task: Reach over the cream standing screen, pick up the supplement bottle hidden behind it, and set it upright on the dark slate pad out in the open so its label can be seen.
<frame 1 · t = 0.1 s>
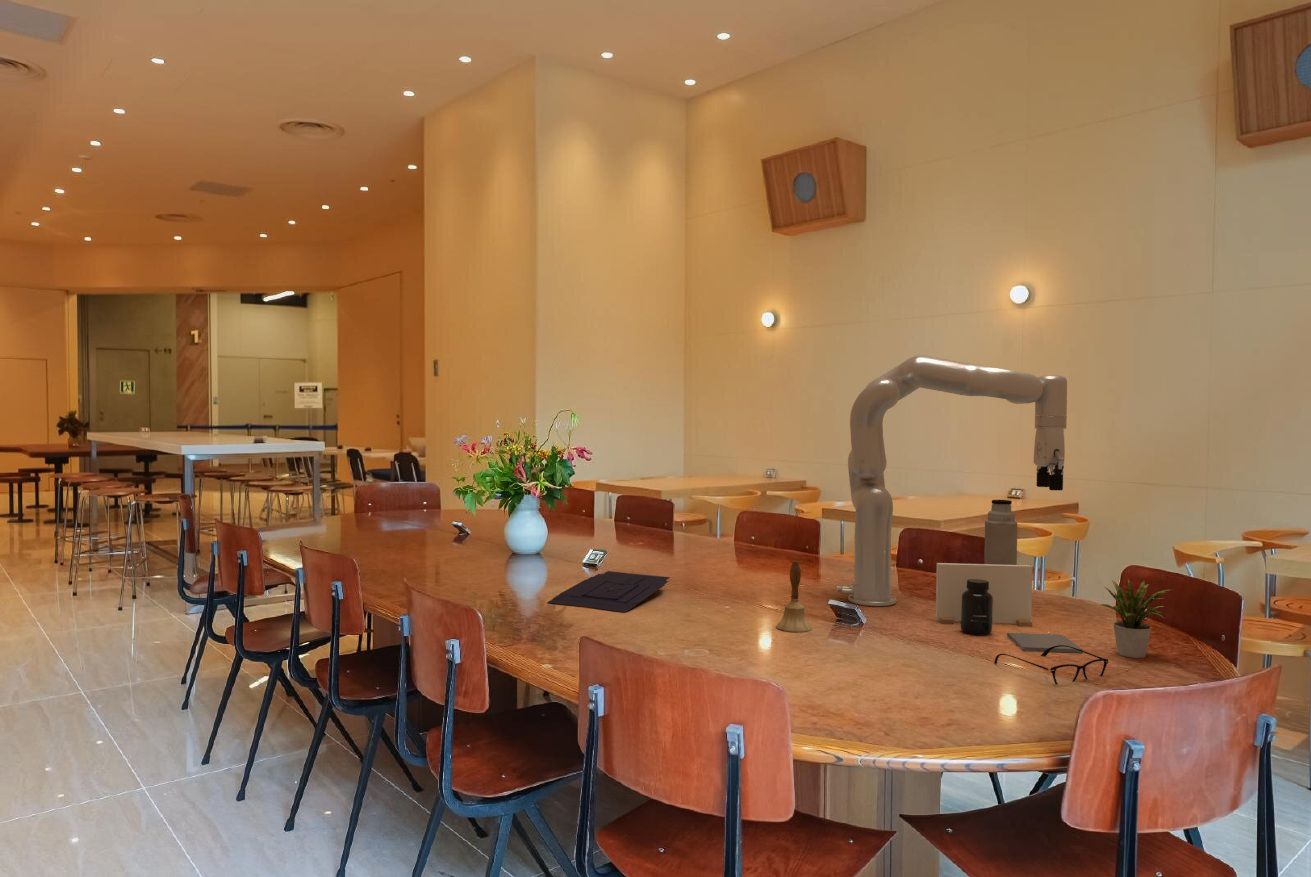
hand: (1049, 488, 222), 31 cm above the table, fingers open, 9 cm apart
hand bell: (794, 628, 201), on the table
house plant: (1134, 657, 178), on the table
black flat stepped slab: (613, 598, 233), on the table
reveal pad: (1043, 644, 187), on the table
thermos bottle: (999, 606, 225), on the table
supplement bottle: (976, 632, 197), on the table
screen: (983, 621, 207), on the table
eyeglasses: (1048, 672, 169), on the table
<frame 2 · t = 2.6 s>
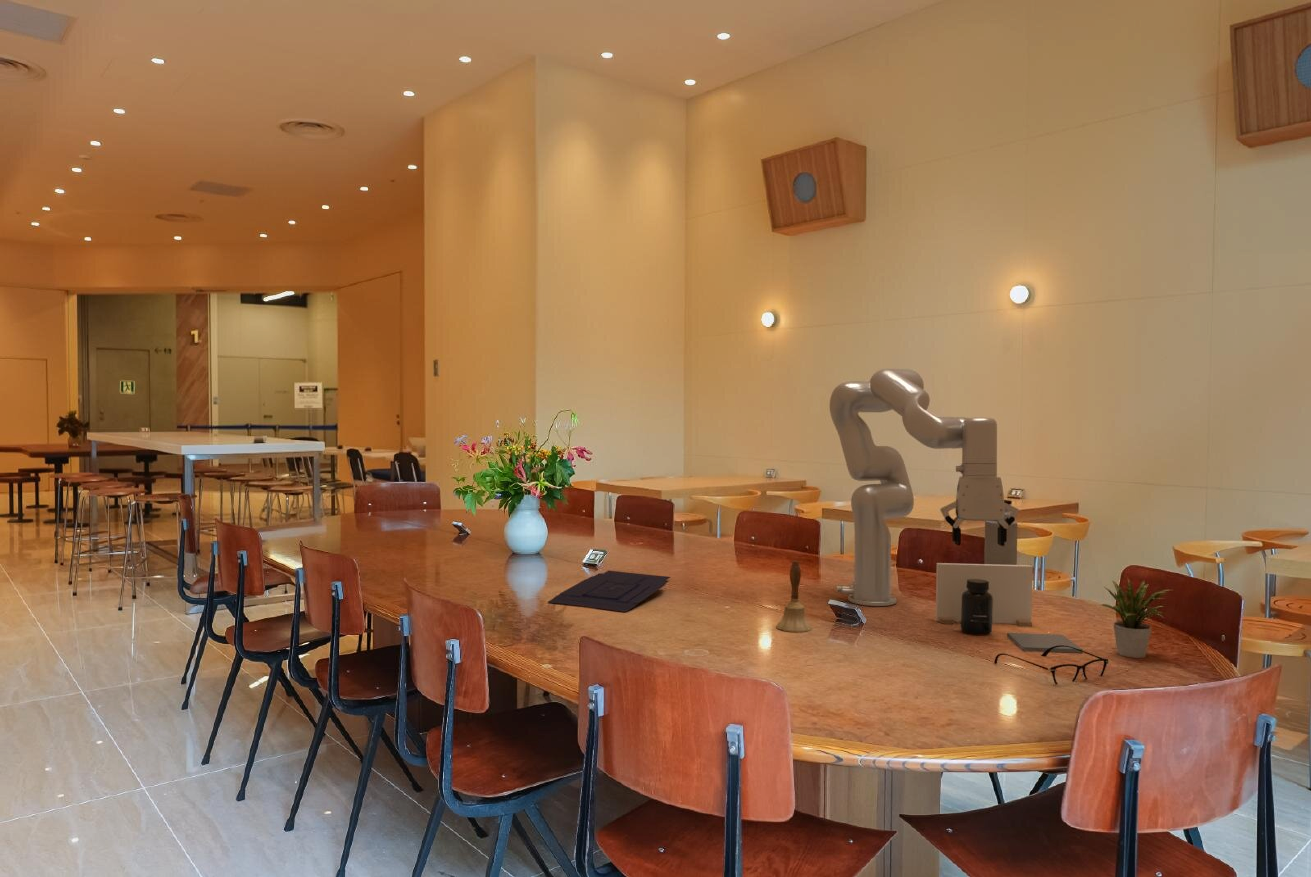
hand: (979, 544, 196), 20 cm above the table, fingers open, 9 cm apart
nothing on the table moved.
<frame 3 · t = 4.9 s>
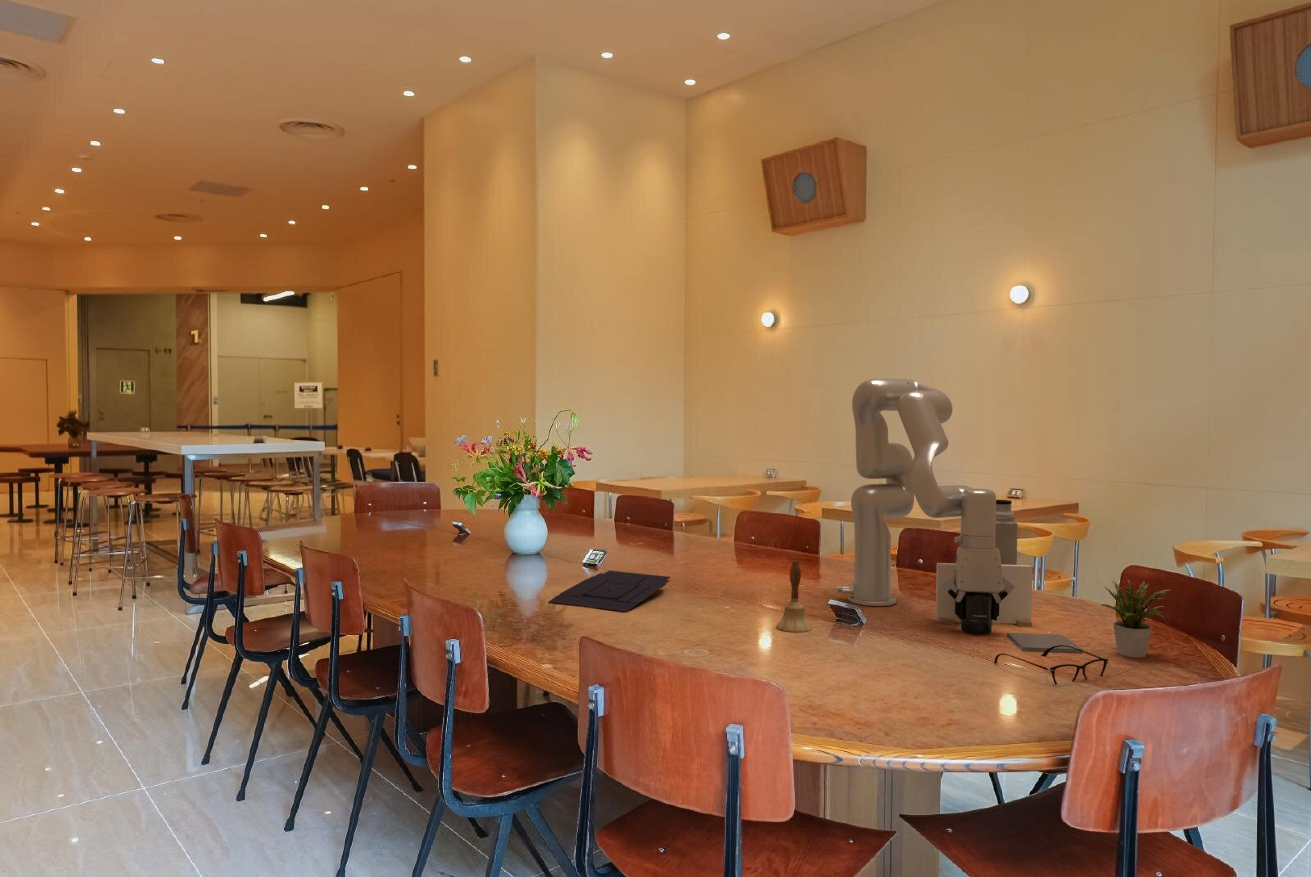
hand: (976, 617, 197), 3 cm above the table, fingers closed on supplement bottle, 6 cm apart
supplement bottle: (976, 632, 197), on the table, touching gripper
everything else where it was.
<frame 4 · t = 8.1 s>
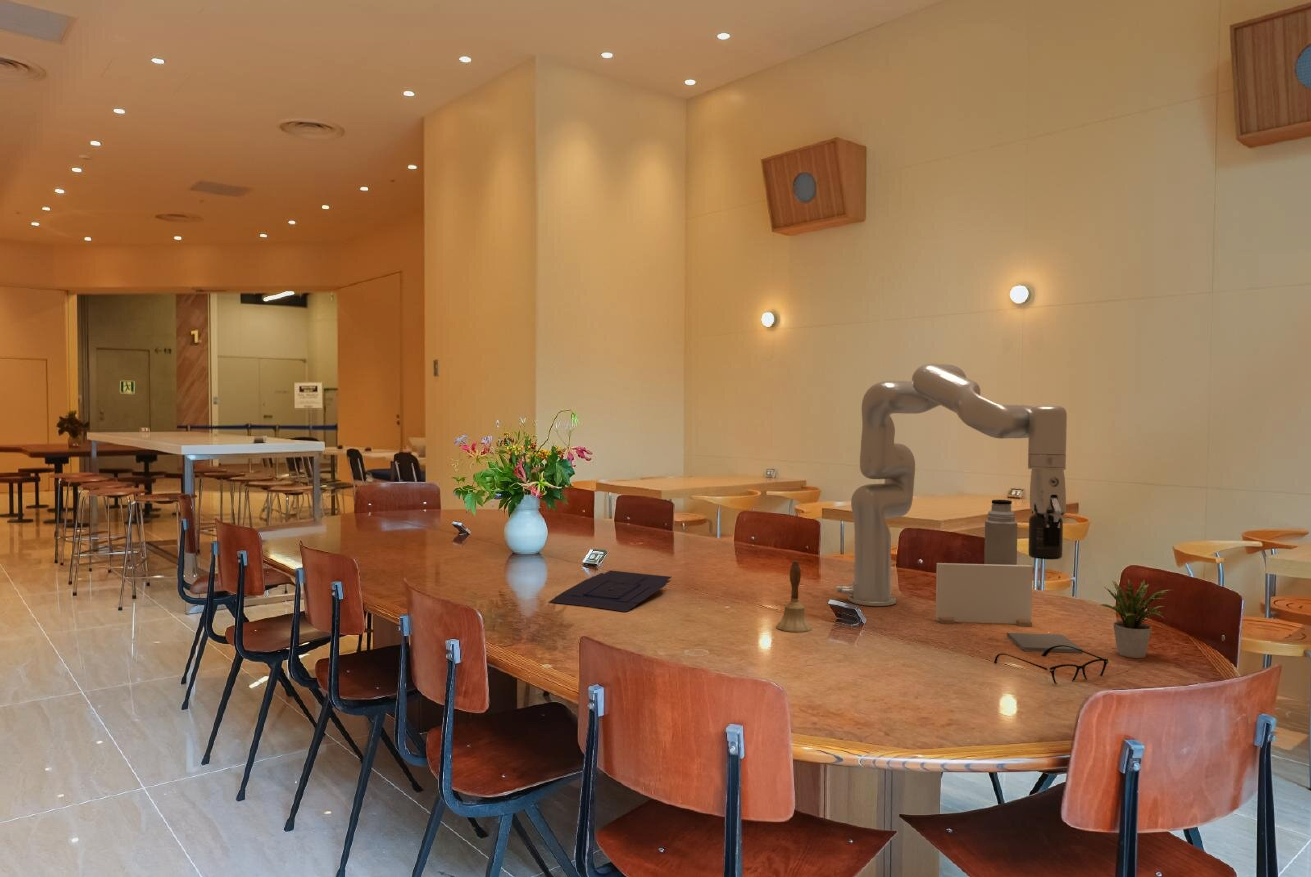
hand: (1045, 542, 186), 22 cm above the table, fingers closed on supplement bottle, 6 cm apart
supplement bottle: (1045, 558, 186), point 19 cm above the table, touching gripper
everything else where it was.
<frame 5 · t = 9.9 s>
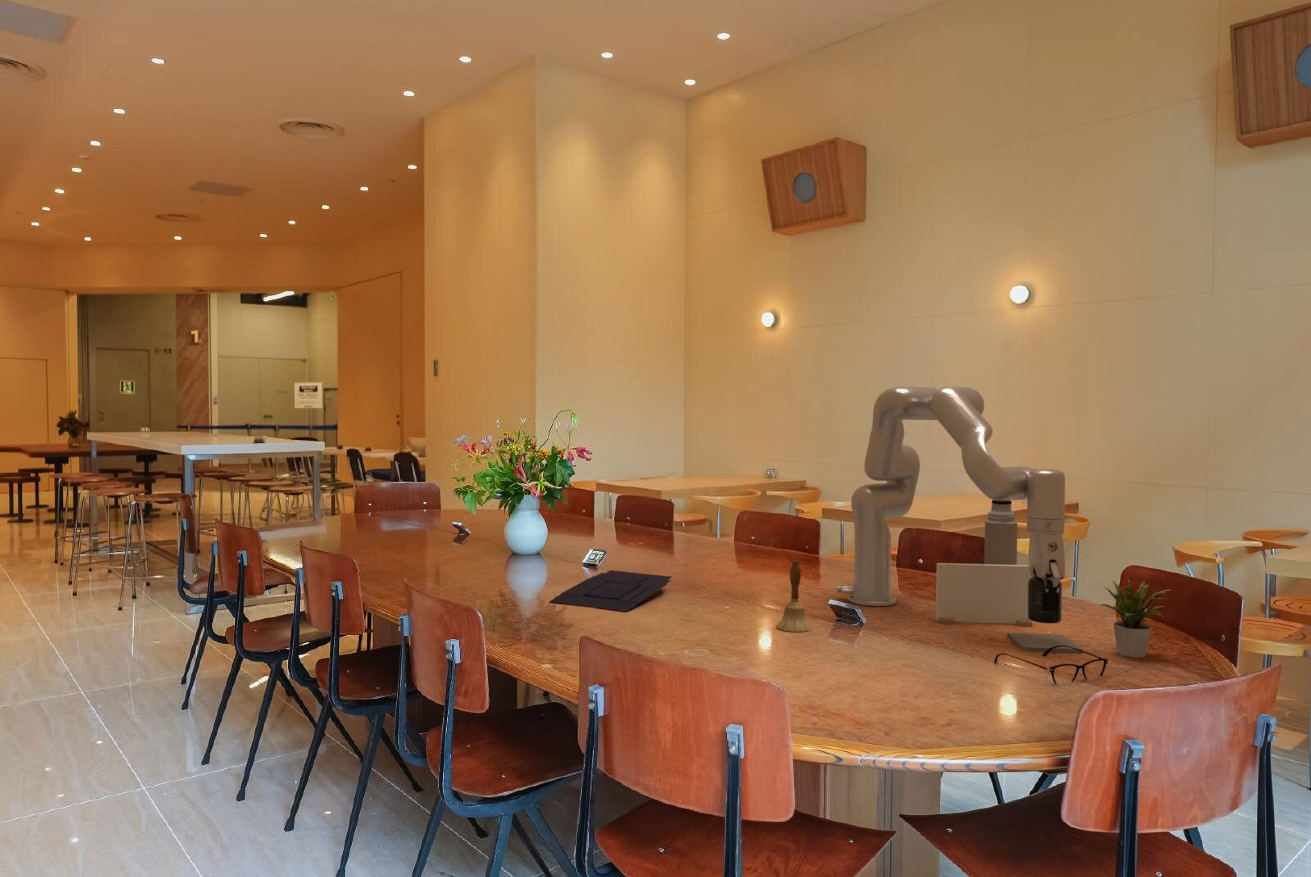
hand: (1044, 605, 187), 9 cm above the table, fingers closed on supplement bottle, 6 cm apart
supplement bottle: (1044, 621, 187), point 5 cm above the table, touching gripper
everything else where it was.
when the fingers open (5 cm above the table, at t = 11.5 s): supplement bottle stays where it is, resting on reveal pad.
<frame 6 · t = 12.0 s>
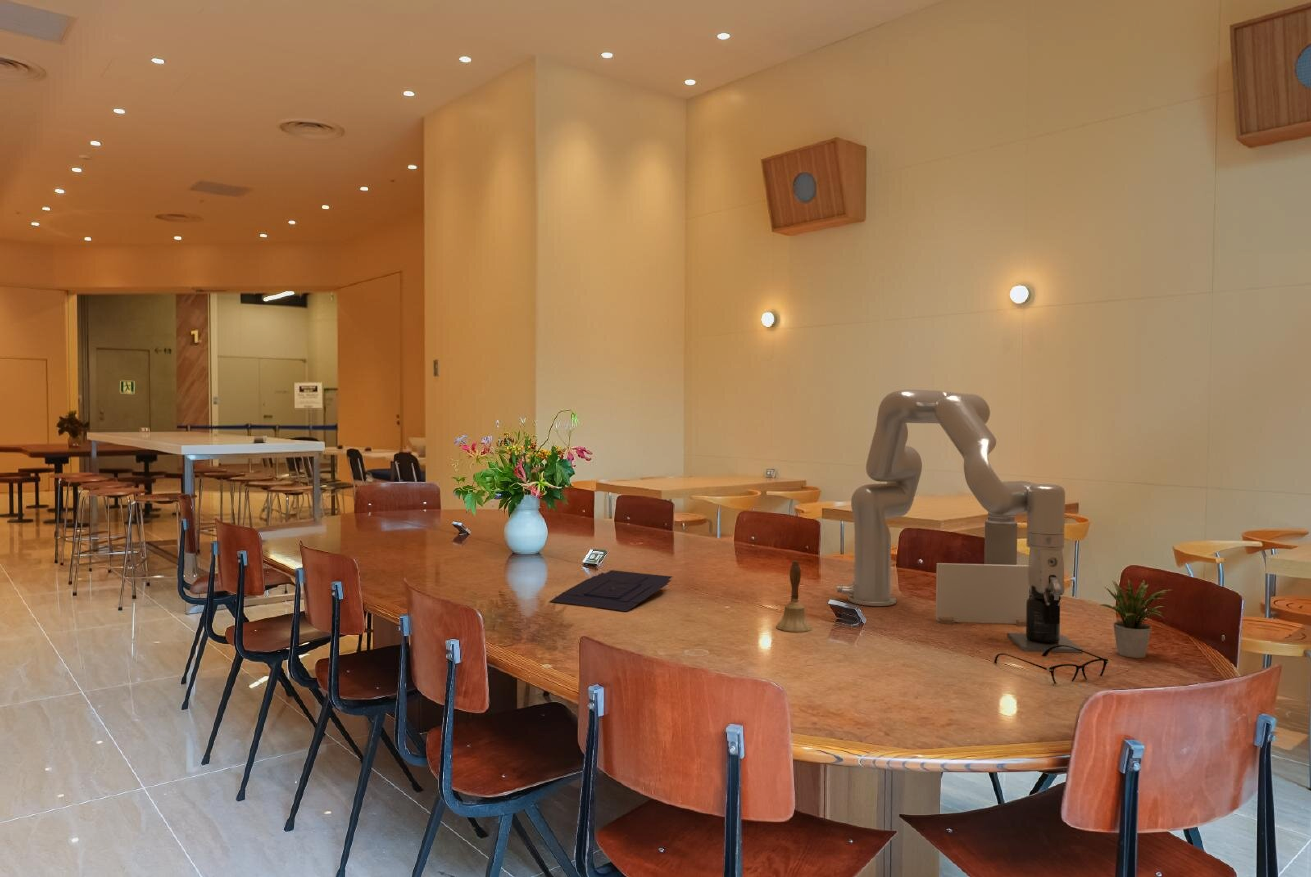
hand: (1043, 618, 187), 6 cm above the table, fingers open, 9 cm apart
supplement bottle: (1042, 641, 187), point 1 cm above the table, touching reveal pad
everything else where it was.
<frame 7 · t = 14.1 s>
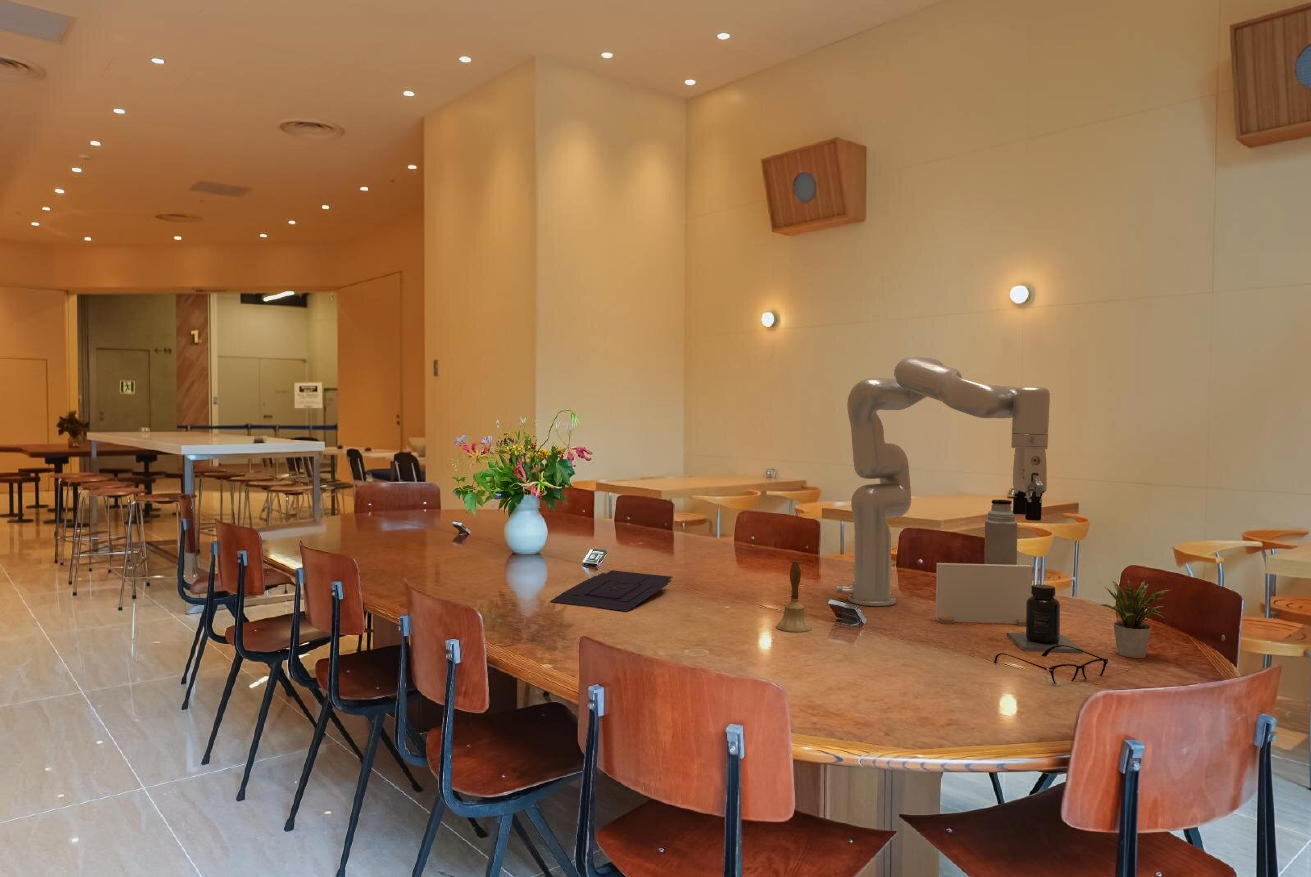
hand: (1026, 517, 192), 27 cm above the table, fingers open, 9 cm apart
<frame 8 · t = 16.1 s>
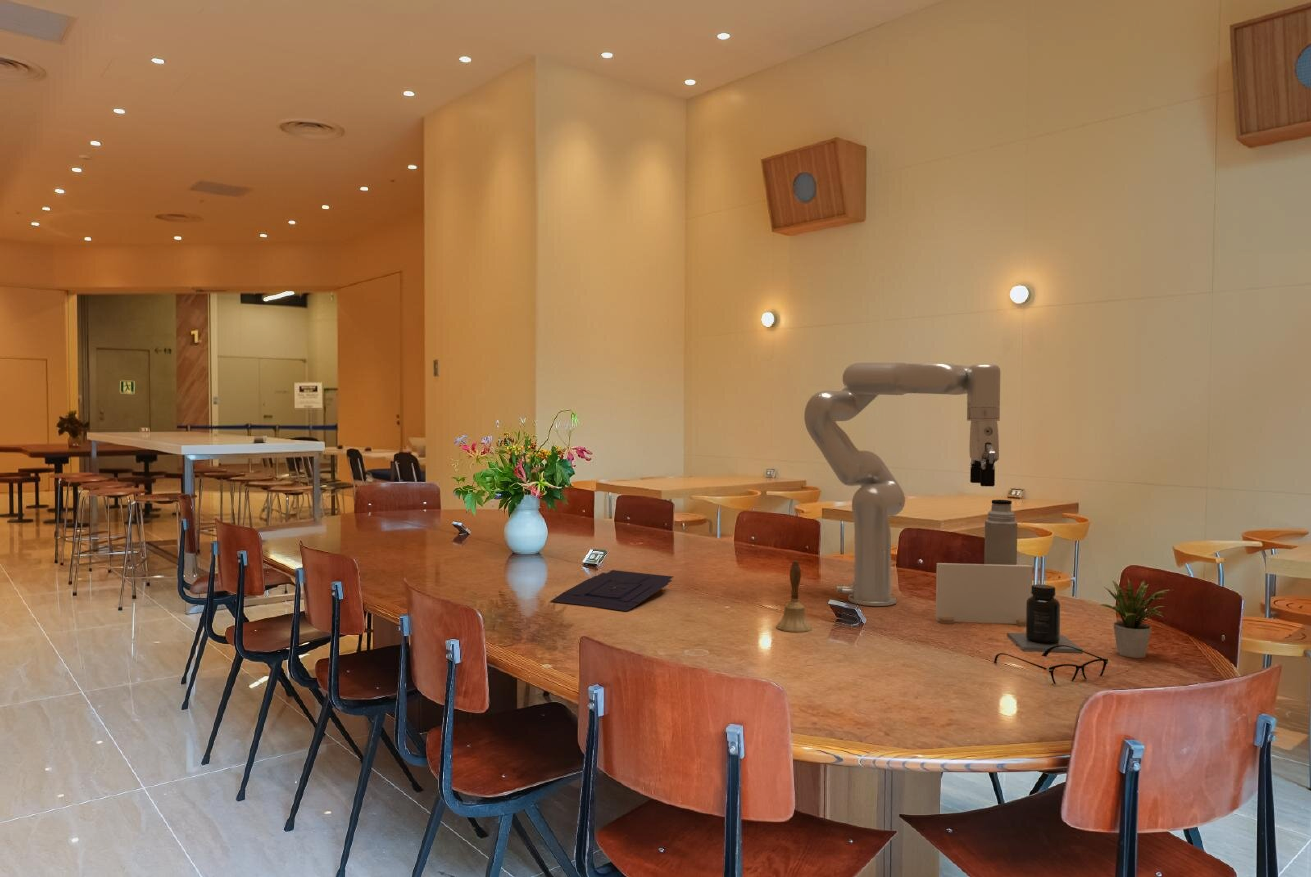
hand: (982, 484, 209), 33 cm above the table, fingers open, 9 cm apart
at the end: supplement bottle inside the target area on the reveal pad (0.3 cm from its centre), point 0.6 cm above the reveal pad's base; supplement bottle tilted 0°; the gripper is holding nothing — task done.
